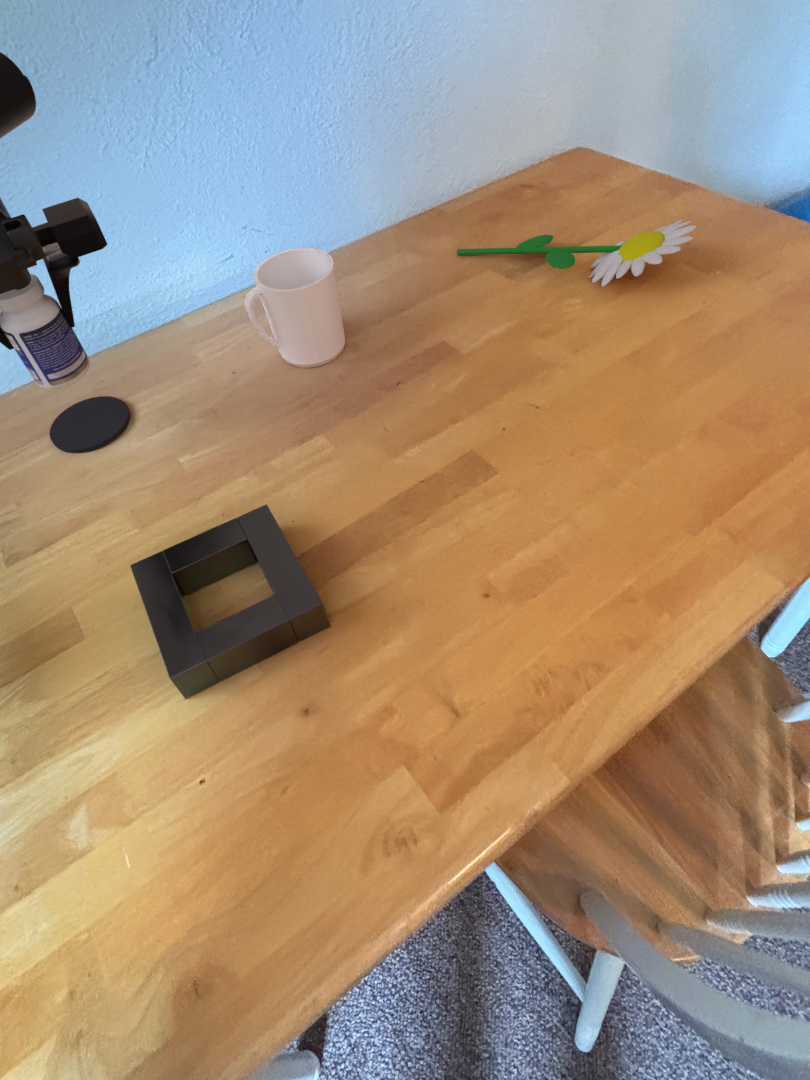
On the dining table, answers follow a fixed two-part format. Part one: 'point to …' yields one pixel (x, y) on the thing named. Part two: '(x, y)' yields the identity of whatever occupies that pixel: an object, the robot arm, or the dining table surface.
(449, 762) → the dining table surface
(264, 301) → the mug
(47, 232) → the robot arm
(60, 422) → the coaster
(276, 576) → the stand
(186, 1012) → the dining table surface
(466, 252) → the decorative flower
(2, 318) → the pill bottle
